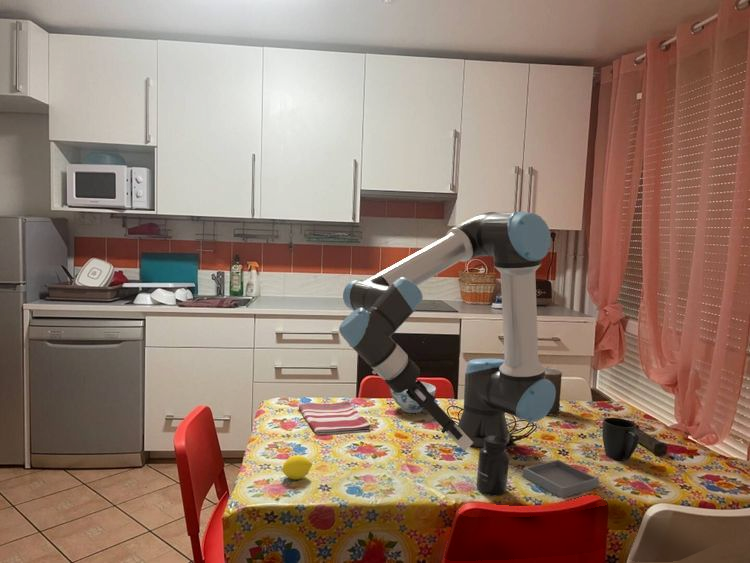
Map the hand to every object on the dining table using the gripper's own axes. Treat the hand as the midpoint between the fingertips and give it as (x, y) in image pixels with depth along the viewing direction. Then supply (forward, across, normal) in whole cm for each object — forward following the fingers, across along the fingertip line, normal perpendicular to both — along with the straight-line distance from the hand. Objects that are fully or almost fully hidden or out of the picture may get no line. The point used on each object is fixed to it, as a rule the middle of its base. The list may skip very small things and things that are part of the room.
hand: (458, 435), depth 128 cm
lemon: (-15, -10, -34) cm, 39 cm away
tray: (+28, -3, +10) cm, 30 cm away
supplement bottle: (+16, 0, -3) cm, 16 cm away
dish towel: (-6, -50, -25) cm, 56 cm away
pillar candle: (+45, -56, +26) cm, 76 cm away
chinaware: (+13, -58, -6) cm, 60 cm away
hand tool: (+55, -25, +36) cm, 71 cm away
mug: (+46, -15, +27) cm, 55 cm away
